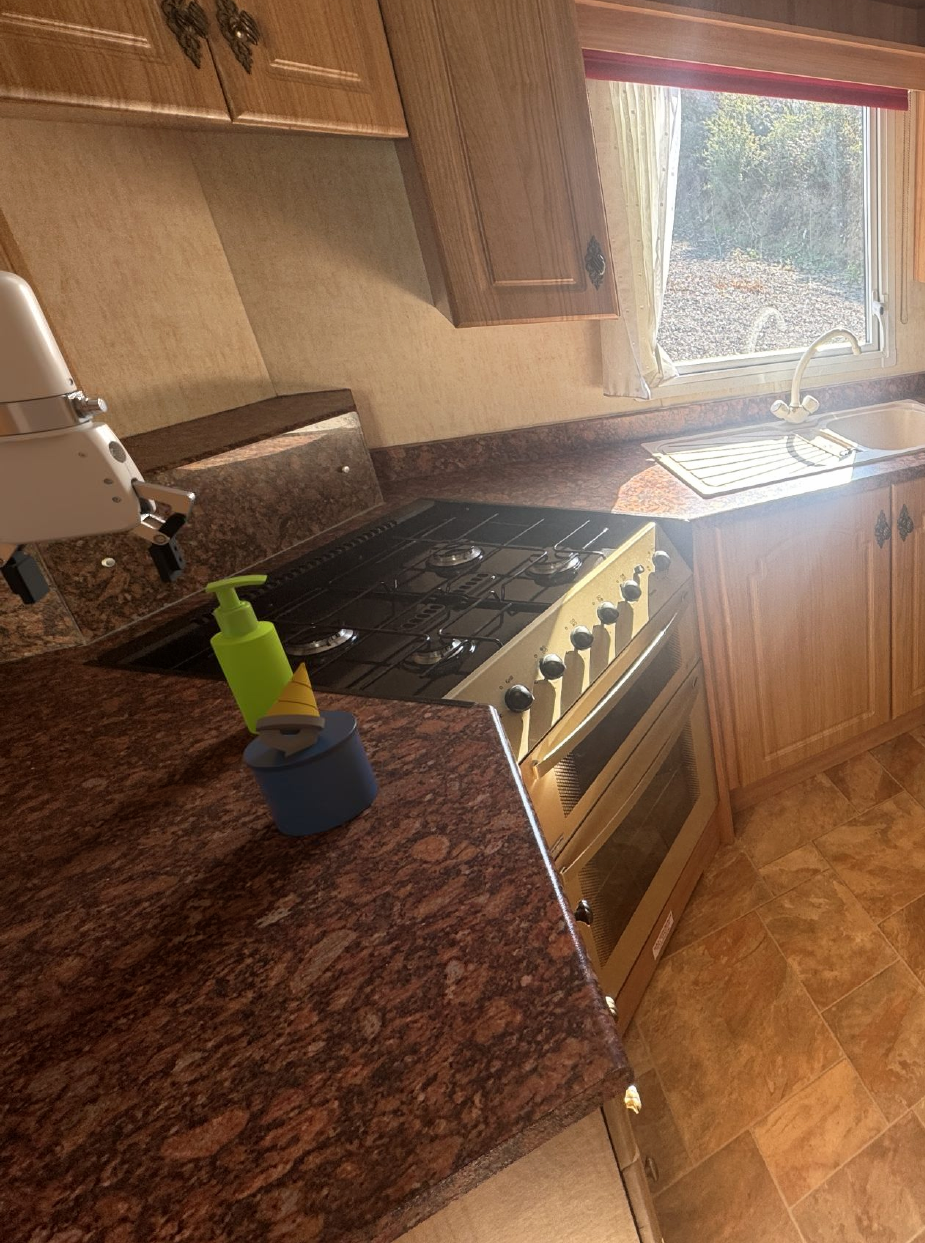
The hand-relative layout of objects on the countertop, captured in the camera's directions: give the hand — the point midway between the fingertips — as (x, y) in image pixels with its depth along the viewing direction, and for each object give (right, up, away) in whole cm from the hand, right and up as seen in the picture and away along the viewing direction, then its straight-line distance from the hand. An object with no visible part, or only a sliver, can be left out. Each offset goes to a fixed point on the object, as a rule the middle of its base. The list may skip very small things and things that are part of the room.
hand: (108, 587), depth 72 cm
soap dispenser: (-3, -19, +23) cm, 30 cm away
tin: (+14, -25, +9) cm, 30 cm away
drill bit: (+14, -16, +6) cm, 22 cm away
